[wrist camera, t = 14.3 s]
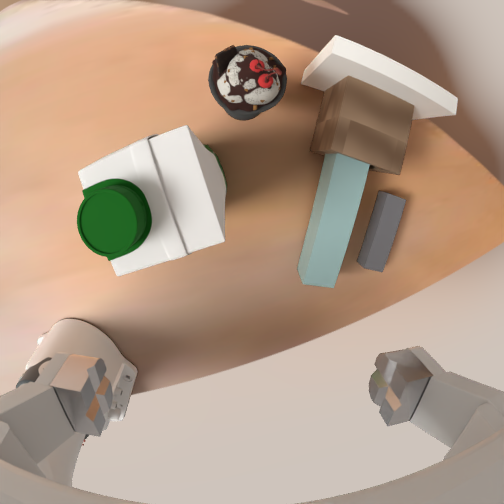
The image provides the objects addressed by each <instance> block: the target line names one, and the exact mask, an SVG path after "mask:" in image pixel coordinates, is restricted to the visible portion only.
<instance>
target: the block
mask: <svg viewBox="0 0 504 504" xmlns="http://www.w3.org/2000/svg"><path fill="white" fill-rule="evenodd" d="M414 107H415V106H414V105H412V104H410V103H408V102H407V101H405V100H403V99H401V98H399V97H397V96H395V95H392V94H390V93H388V92H386V91H384V90H382V89H380V88H377V87H375V86H373V85H371V84H368V83H366V82H364V81H361V80H359V79H357V78H354V77H352V76H349V75H348V76H347V77H345V78H343V79H342V80H340V81H339V82H337V83H336V84H334V85H333V86H331V87H330V88H328V89H327V90H325V92H324V96H323V100H322V104H321V108H320V112H319V116H318V120H317V124H316V128H315V132H314V136H313V140H312V144H311V148H310V151H311V152H314V153H318V154H321V155H324V156H325V154H335V153H339V154H342V155H345V156H348V157H351V158H353V159H356V160H359V161H362V162H364V163H367V164H370V166H369V171H376V172H383V173H390V174H396V175H400V172H401V168H402V164H403V160H404V156H405V151H406V147H407V142H408V138H409V133H410V128H411V123H412V118H413V112H414Z"/></svg>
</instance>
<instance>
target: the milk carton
mask: <svg viewBox="0 0 504 504" xmlns="http://www.w3.org/2000/svg"><path fill="white" fill-rule="evenodd" d="M78 174H79V177H80V180H81V183H82V186H83V189H84V190H83V191H82V192H83V195H84V198H85V199H84V200H83V202H82V203H81V205H80V208H79V211H78V215H77V226H78V231H79V234H80V236H81V238H82V240H83V242H84V243H85V245H86V246H87V247H88V248H89V249H90V250H92V251H93V252H95V253H96V254H99V255H101V256H106V257H107V258H108V260H109V261H111V263H112V266H113V268H114V270H115V273H116V275H117V276H121V275H125V274H128V273H131V272H134V271H137V270H141V269H144V268H147V267H150V266H153V265H157V264H160V263H163V262H166V261H169V260H175V259H178V258H181V257H184V256H187V255H189V254H191V253H193V252H194V251H197V250H200V249H203V248H206V247H210V246H213V245H216V244H219V243H222V242H225V198H226V192H227V183H226V179H225V175H224V171H223V168H222V166H221V164H220V161H219V158H218V156H217V155H216V154H215V153H214V151H213V150H212V149H211V148H210V147H209V146H208V145H204V144H202V143H201V142H200V140H199V139H198V138H197V137H196V136H195V134H194V133H193V132H192V131H191V130H190V128H189V127H188V125H185V126H182V127H179V128H177V129H174V130H171V131H169V132H166V133H163V134H161V135H158V134H154V135H151V136H148V137H145V138H143V139H141V140H138V141H136V142H134V143H133V144H130V145H128V146H126V147H124V148H121V149H119V150H117V151H115V152H113V153H111V154H109V155H107V156H105V157H103V158H101V159H99V160H97V161H95V162H94V163H92V164H90V165H88V166H86V167H85V168H83V169H81V170H80V171H79V172H78Z"/></svg>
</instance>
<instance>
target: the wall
mask: <svg viewBox="0 0 504 504" xmlns="http://www.w3.org/2000/svg"><path fill="white" fill-rule="evenodd" d="M348 75H349V76H352V77H354V78H357V79H359V80H361V81H364V82H366V83H368V84H371V85H373V86H375V87H377V88H380V89H382V90H384V91H386V92H388V93H390V94H392V95H395V96H397V97H399V98H401V99H403V100H405V101H407V102H408V103H410V104H412V105H414V106H415V107H414V112H413V118H412V120H416V119H424V118H432V117H440V116H450V115H456V110H457V102H458V98H457V97H455V96H454V95H452V94H451V93H449V92H448V91H446V90H445V89H443V88H442V87H440V86H439V85H437V84H435V83H434V82H432V81H430V80H429V79H427V78H425V77H424V76H422V75H420V74H418V73H416V72H415V71H413V70H411V69H409V68H408V67H406V66H404V65H402V64H400V63H398V62H396V61H394V60H392V59H390V58H388V57H386V56H384V55H382V54H380V53H377V52H375V51H373V50H371V49H369V48H366V47H364V46H362V45H359V44H357V43H355V42H352V41H350V40H347V39H345V38H342V37H340V36H337V35H335V36H334V37H333V38H332V40H331V41H330V42H329V43H328V44H327V45H326V46H325V47H324V48H323V49H322V51H321V52H320V53H319V54H318V55H317V56H316V57H315V58H314V60H313V61H312V62H311V63H310V64H309V65H308V66H307V67H306V69H305V70H304V73H303V77H302V81H301V84H302V85H306V86H309V87H312V88H315V89H318V90H321V91H324V92H325V90H327V89H328V88H330V87H331V86H333V85H334V84H336V83H337V82H339V81H340V80H342V79H343V78H345V77H347V76H348Z"/></svg>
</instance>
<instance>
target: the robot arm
mask: <svg viewBox="0 0 504 504" xmlns="http://www.w3.org/2000/svg"><path fill="white" fill-rule="evenodd" d="M37 343H38V347H37V349H36V350H35V352H34V353H33V355H32V356H31V358H30V360H29V361H28V363H27V365H26V370H27V371H26V372H25V373H24V374H23V375H22V376H21V377H20V379H19V382H18V383H17V385H16V389H14V390H12V391H10V392H8V393H6V394H4V395H2V396H0V504H146V503H139V502H133V501H128V500H122V499H117V498H112V497H108V496H103V495H99V494H95V493H91V492H88V491H84V490H80V489H77V488H73V487H72V477H73V472H74V468H75V464H76V461H77V458H78V454H79V452H80V448H81V446H82V445H84V444H82V443H83V442H85V439H86V438H87V437H88V436H89V435H94V436H100V435H101V433H102V431H103V430H105V429H107V427H108V424H109V422H110V421H121V420H123V418H124V416H125V413H126V410H127V406H128V403H129V399H130V396H131V393H132V389H133V386H134V383H135V379H136V376H137V373H138V371H137V368H136V367H135V366H134V365H133V364H132V363H130V362H129V361H128V360H127V359H125V358H124V357H123V356H122V354H121V353H120V351H119V350H118V348H117V347H116V346H115V344H114V343H113V342H112V341H111V340H110V338H109V337H108V336H106V335H105V334H104V333H103V332H102V331H100V330H99V329H98V328H96V327H94V326H93V325H91V324H89V323H86V322H84V321H81V320H77V319H64V320H60V321H58V322H57V323H55V324H54V325H53V327H52V328H51V330H50V331H49V332H48V333H45V334H42V335H40V337H39V338H38V340H37ZM375 366H376V368H377V370H376V371H375V372H374V373H373V374H372V375H371V378H370V381H369V393H370V396H371V399H372V401H373V402H374V403H375V404H377V405H379V406H381V408H380V411H379V413H380V414H381V416H382V418H383V419H384V421H385V423H386V424H387V426H390V425H395V424H399V423H403V422H407V421H410V422H411V423H413V424H414V425H416V426H417V427H419V428H420V429H422V430H423V431H425V432H427V433H428V434H430V435H431V436H433V437H435V438H436V439H437V440H439V441H441V442H442V443H444V444H446V445H447V446H449V447H451V449H450V451H449V452H448V453H447V454H446V456H445V458H444V460H443V461H442V462H439V463H437V464H434V465H432V466H430V467H428V468H425V469H423V470H420V471H418V472H415V473H413V474H410V475H407V476H405V477H402V478H399V479H396V480H393V481H390V482H387V483H384V484H381V485H378V486H375V487H371V488H367V489H364V490H360V491H357V492H352V493H348V494H344V495H340V496H335V497H331V498H326V499H321V500H315V501H310V502H304V503H297V504H504V392H503V391H500V390H497V389H495V388H492V387H489V386H486V385H484V384H481V383H478V382H476V381H473V380H470V379H468V378H465V377H462V376H460V375H457V374H455V373H452V372H445V370H444V369H443V368H442V367H441V366H440V365H439V364H438V363H437V362H436V361H435V360H434V359H433V358H432V357H431V356H430V355H429V354H428V353H427V352H426V351H425V350H424V349H423V348H422V347H420V346H416V347H412V348H407V349H405V350H399V351H393V352H387V353H380V354H379V355H378V357H377V358H376V362H375ZM127 375H128V376H127Z"/></svg>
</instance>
